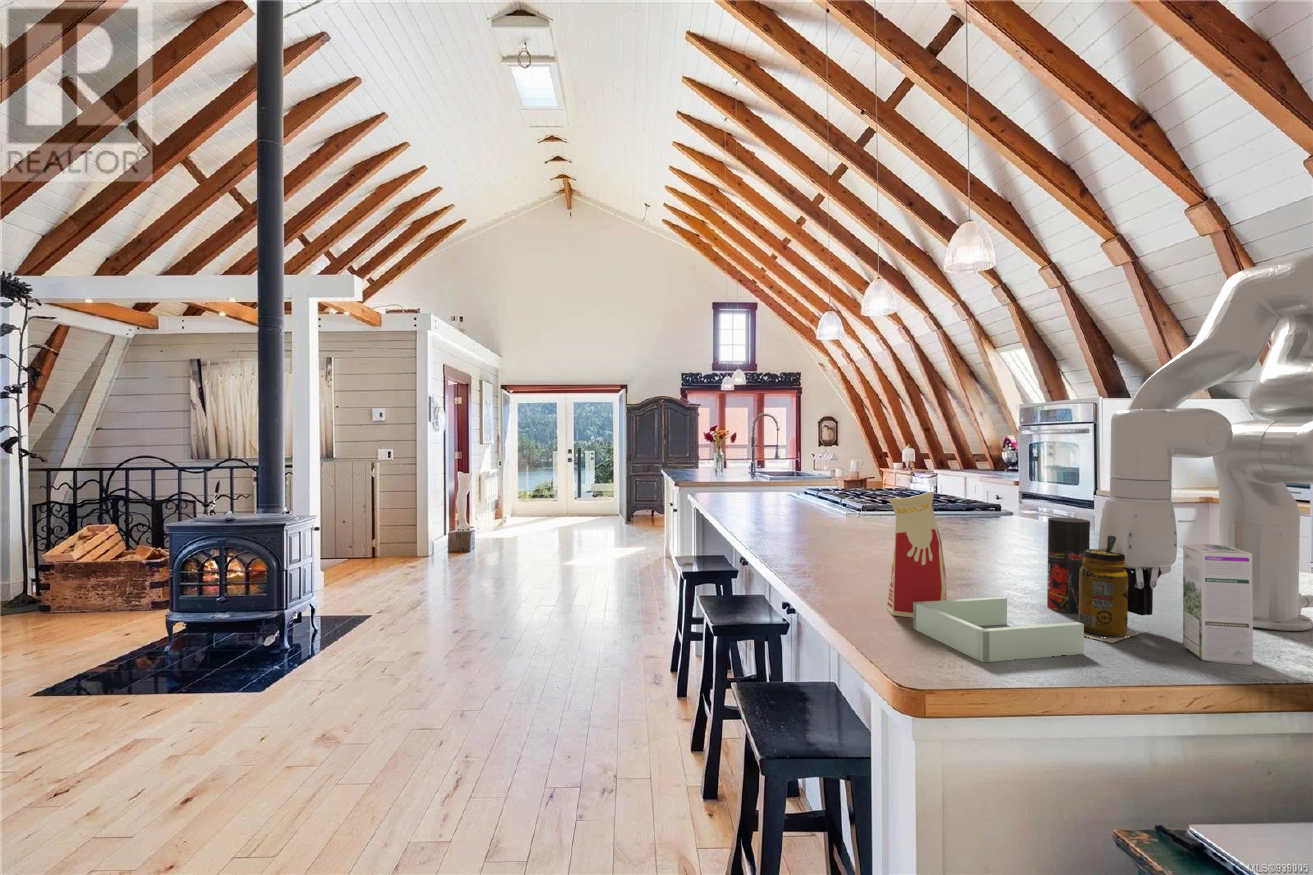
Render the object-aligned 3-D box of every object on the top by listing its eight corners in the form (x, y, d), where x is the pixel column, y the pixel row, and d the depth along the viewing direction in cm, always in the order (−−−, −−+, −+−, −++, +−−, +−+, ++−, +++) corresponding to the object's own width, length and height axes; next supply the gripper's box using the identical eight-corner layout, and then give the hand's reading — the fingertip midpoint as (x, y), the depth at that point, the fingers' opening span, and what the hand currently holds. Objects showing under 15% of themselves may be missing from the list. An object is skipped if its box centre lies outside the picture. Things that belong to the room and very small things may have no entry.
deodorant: (1096, 614, 109) (1098, 522, 109) (1060, 613, 110) (1061, 522, 109) (1074, 604, 115) (1075, 517, 115) (1040, 604, 115) (1041, 517, 115)
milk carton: (946, 608, 113) (947, 489, 113) (945, 622, 104) (946, 494, 104) (889, 602, 117) (890, 487, 116) (883, 615, 108) (884, 491, 108)
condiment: (1139, 634, 99) (1140, 553, 98) (1112, 644, 94) (1113, 559, 94) (1086, 622, 105) (1087, 545, 105) (1058, 631, 100) (1059, 550, 100)
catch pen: (1002, 622, 104) (1002, 596, 104) (1083, 654, 90) (1083, 624, 90) (913, 628, 101) (913, 602, 101) (982, 662, 86) (982, 631, 86)
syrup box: (1255, 666, 85) (1256, 552, 85) (1199, 661, 87) (1201, 549, 87) (1231, 651, 91) (1233, 545, 91) (1180, 647, 93) (1181, 542, 92)
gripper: (1156, 488, 106) (1154, 604, 106) (1077, 489, 103) (1075, 609, 103) (1204, 492, 99) (1202, 617, 99) (1121, 494, 95) (1119, 622, 96)
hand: (1138, 612), depth 101 cm, fingers closed
